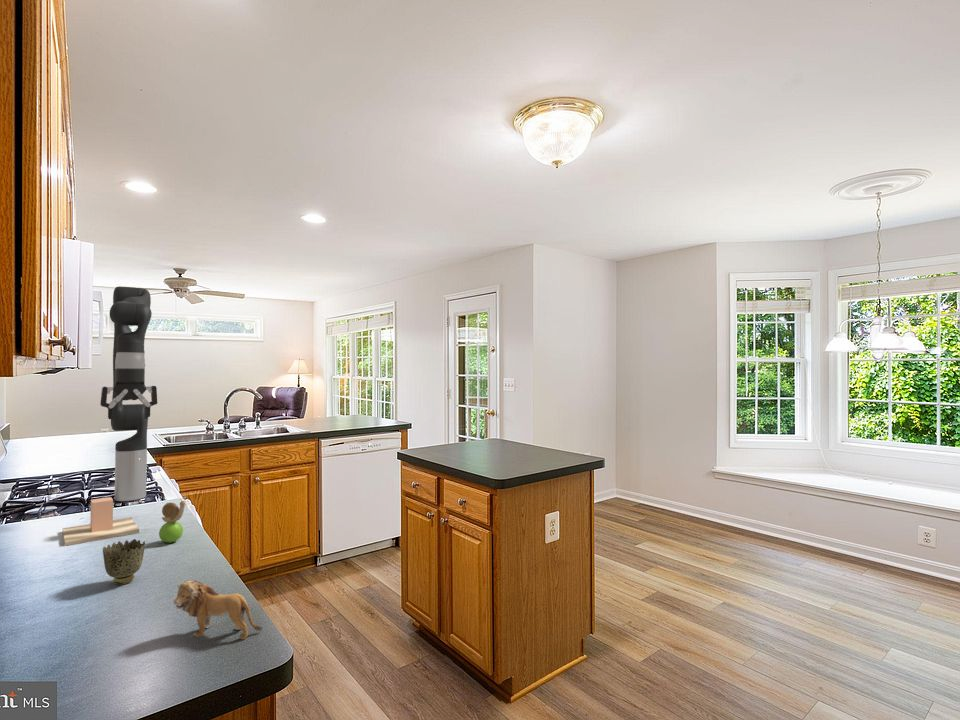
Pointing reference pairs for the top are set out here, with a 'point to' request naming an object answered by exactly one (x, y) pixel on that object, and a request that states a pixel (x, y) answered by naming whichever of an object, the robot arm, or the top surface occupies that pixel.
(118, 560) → the cup
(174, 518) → the snail figurine
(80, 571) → the top surface
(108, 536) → the birch board
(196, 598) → the lion figurine
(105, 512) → the terracotta block
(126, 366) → the robot arm
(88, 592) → the top surface
